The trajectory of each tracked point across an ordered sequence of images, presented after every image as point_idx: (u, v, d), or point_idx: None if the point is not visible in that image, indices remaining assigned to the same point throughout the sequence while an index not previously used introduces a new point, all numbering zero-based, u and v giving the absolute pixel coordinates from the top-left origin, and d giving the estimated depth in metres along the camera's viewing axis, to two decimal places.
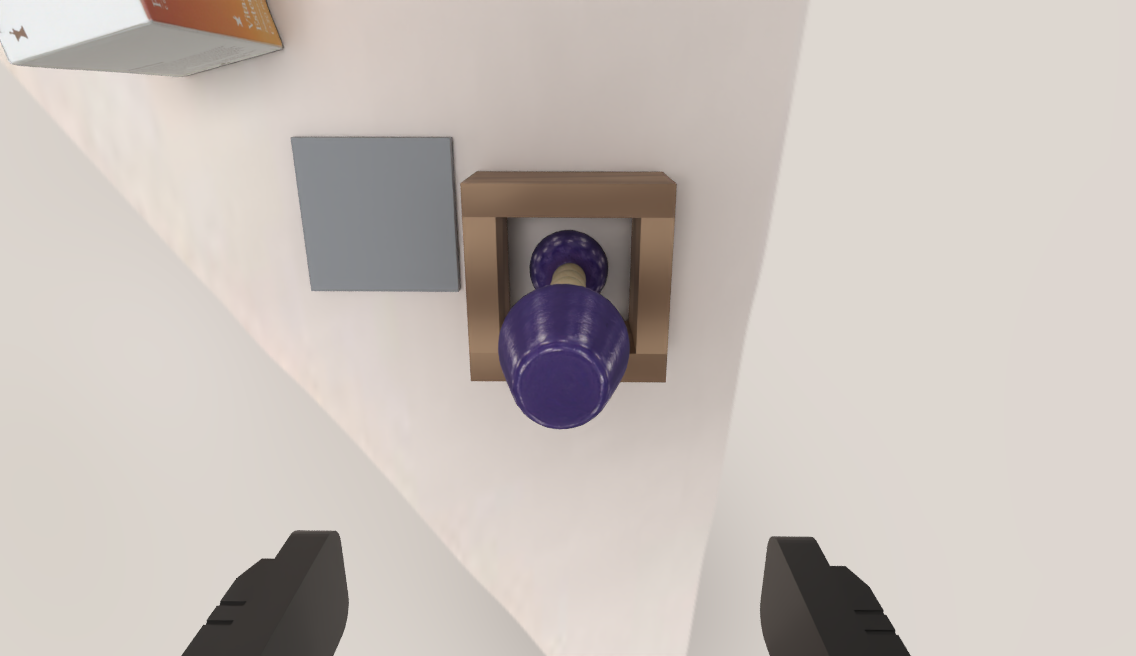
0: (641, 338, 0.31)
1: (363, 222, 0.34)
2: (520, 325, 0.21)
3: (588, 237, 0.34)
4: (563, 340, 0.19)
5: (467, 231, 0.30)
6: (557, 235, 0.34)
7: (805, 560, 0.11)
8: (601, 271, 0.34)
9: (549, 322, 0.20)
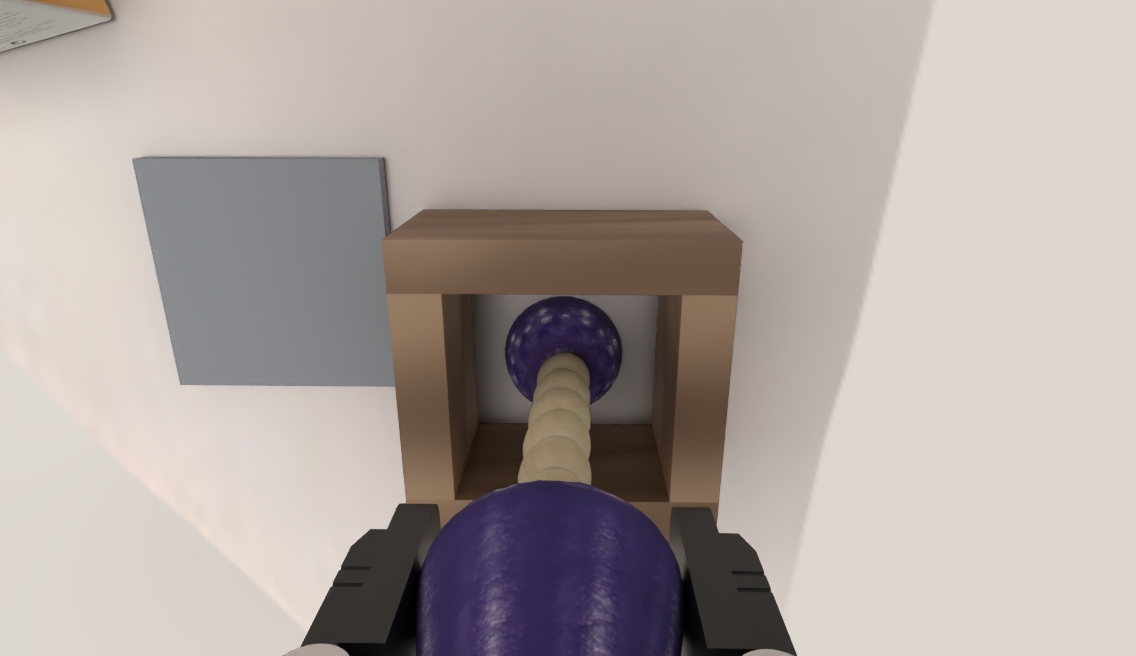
0: (678, 479, 0.20)
1: (252, 285, 0.22)
2: (449, 608, 0.09)
3: (593, 308, 0.23)
4: None
5: (396, 316, 0.18)
6: (545, 306, 0.23)
7: (696, 526, 0.12)
8: (612, 360, 0.22)
9: (513, 629, 0.08)
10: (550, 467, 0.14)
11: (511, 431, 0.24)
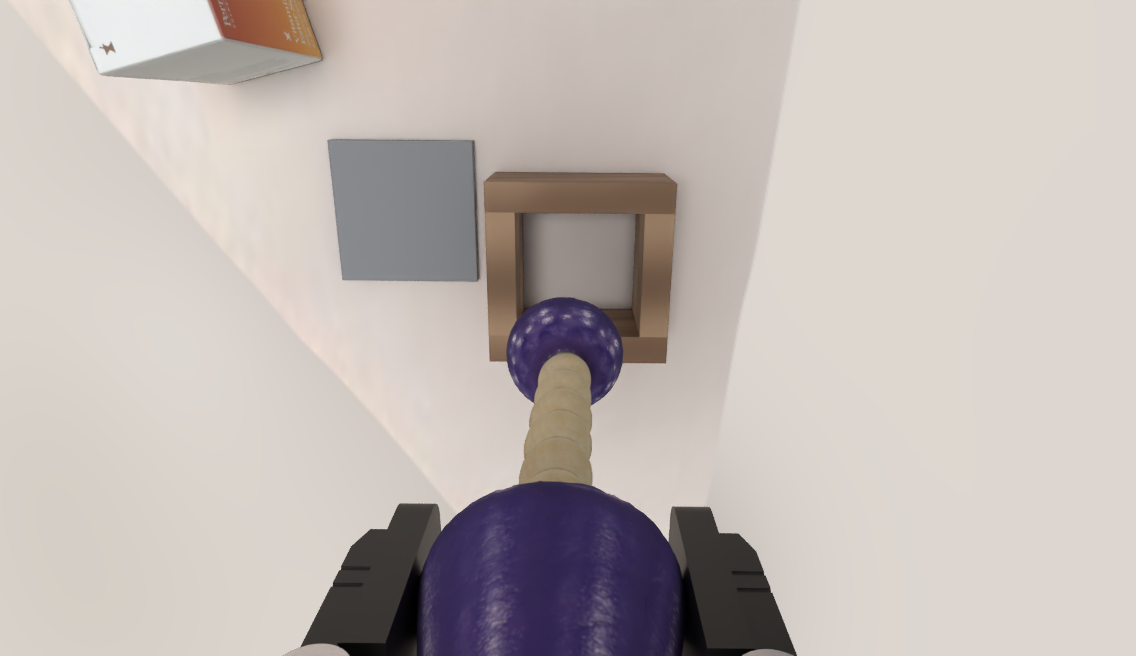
0: (644, 322, 0.35)
1: (391, 217, 0.37)
2: (451, 610, 0.09)
3: (594, 309, 0.23)
4: None
5: (489, 225, 0.33)
6: (546, 306, 0.23)
7: (696, 527, 0.12)
8: (613, 361, 0.22)
9: (514, 630, 0.08)
10: (551, 468, 0.14)
11: None
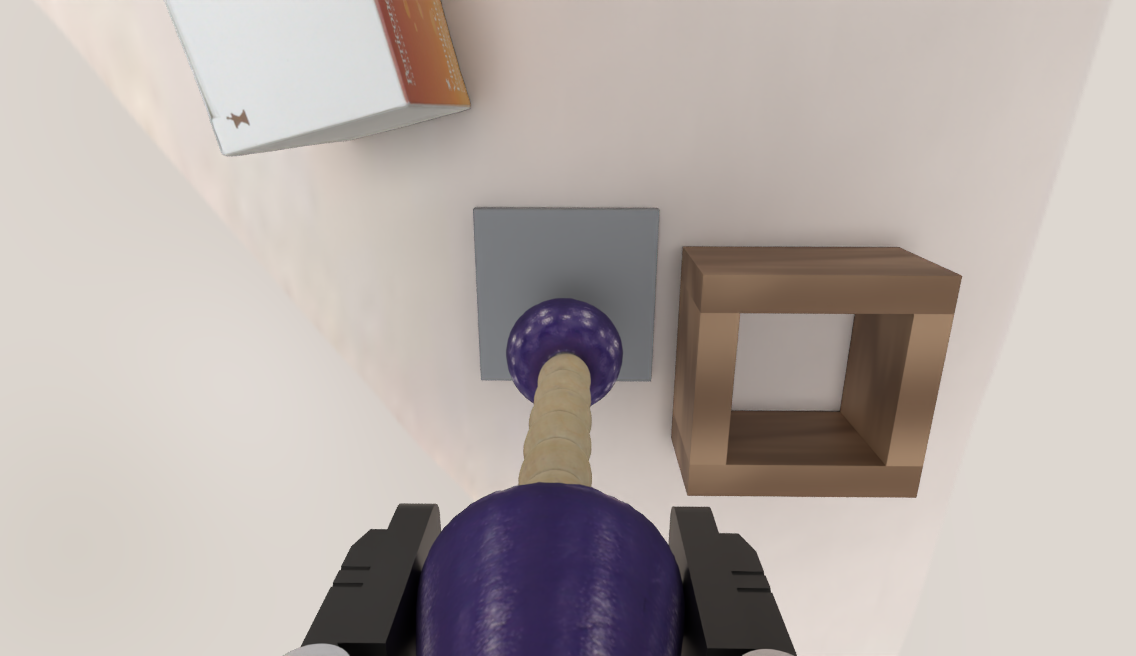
0: (894, 448, 0.27)
1: None
2: (450, 611, 0.09)
3: (594, 309, 0.23)
4: None
5: (704, 329, 0.25)
6: (546, 307, 0.23)
7: (696, 526, 0.12)
8: (613, 361, 0.22)
9: (514, 630, 0.08)
10: (550, 469, 0.14)
11: (734, 416, 0.31)
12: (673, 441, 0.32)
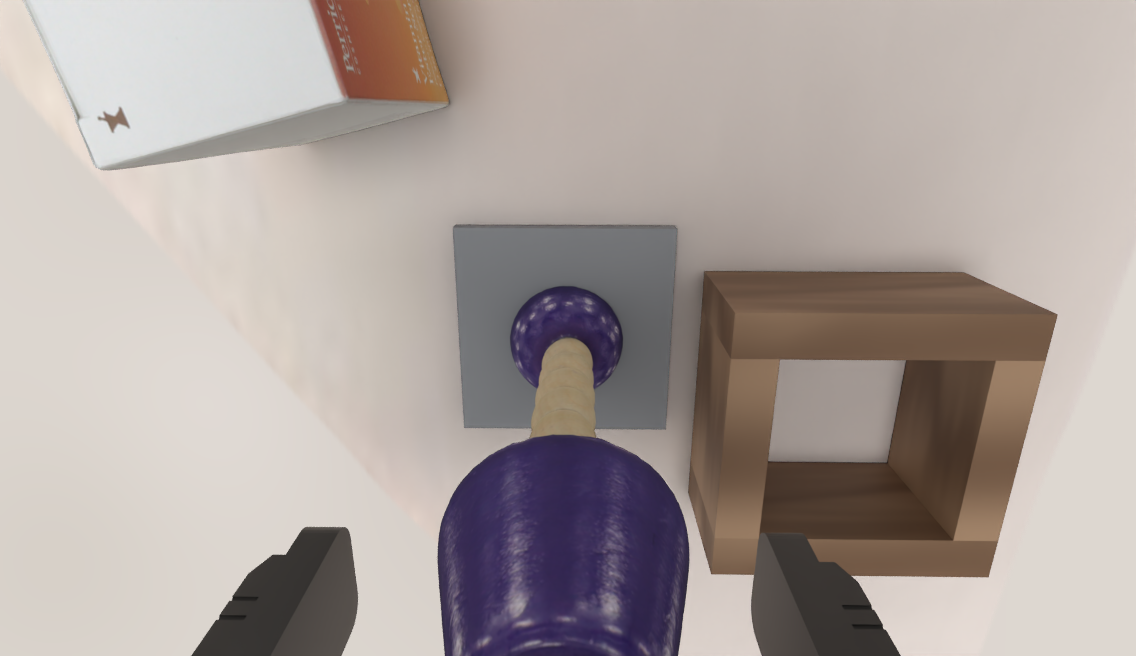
0: (964, 520, 0.22)
1: None
2: (474, 544, 0.10)
3: (595, 297, 0.24)
4: (566, 618, 0.08)
5: (736, 378, 0.20)
6: (549, 294, 0.23)
7: (794, 556, 0.11)
8: (614, 347, 0.23)
9: (535, 555, 0.09)
10: None
11: None
12: (691, 498, 0.27)
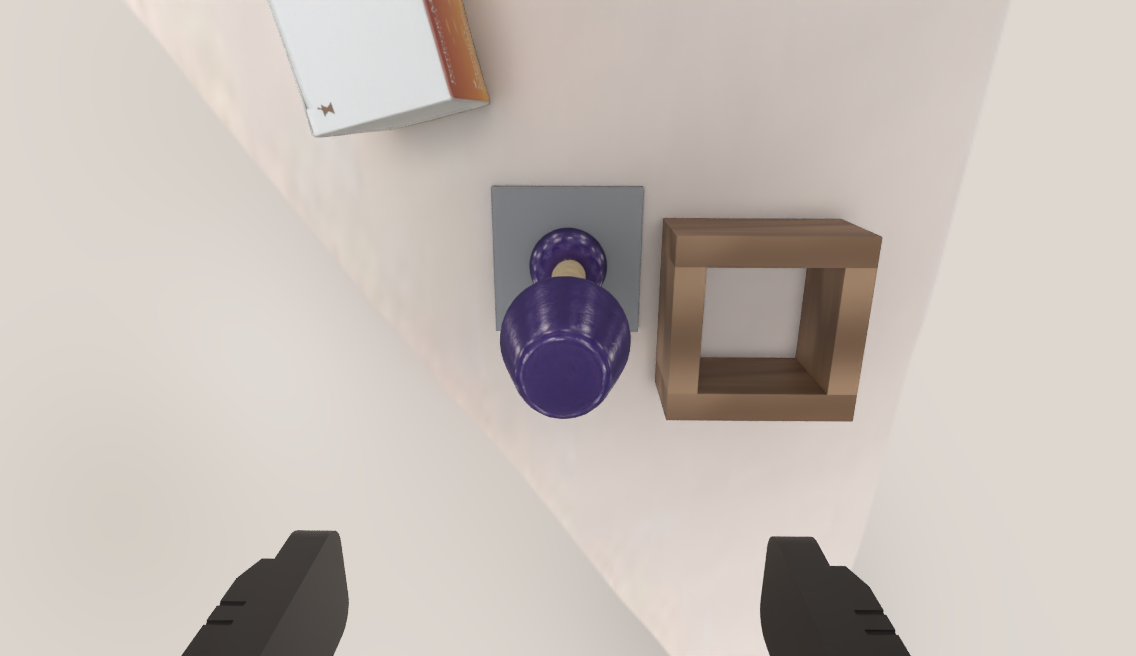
0: (833, 380, 0.33)
1: None
2: (522, 316, 0.21)
3: (587, 234, 0.35)
4: (566, 329, 0.19)
5: (678, 280, 0.31)
6: (557, 232, 0.34)
7: (805, 560, 0.11)
8: (600, 268, 0.34)
9: (552, 313, 0.20)
10: None
11: (707, 361, 0.37)
12: (656, 383, 0.38)
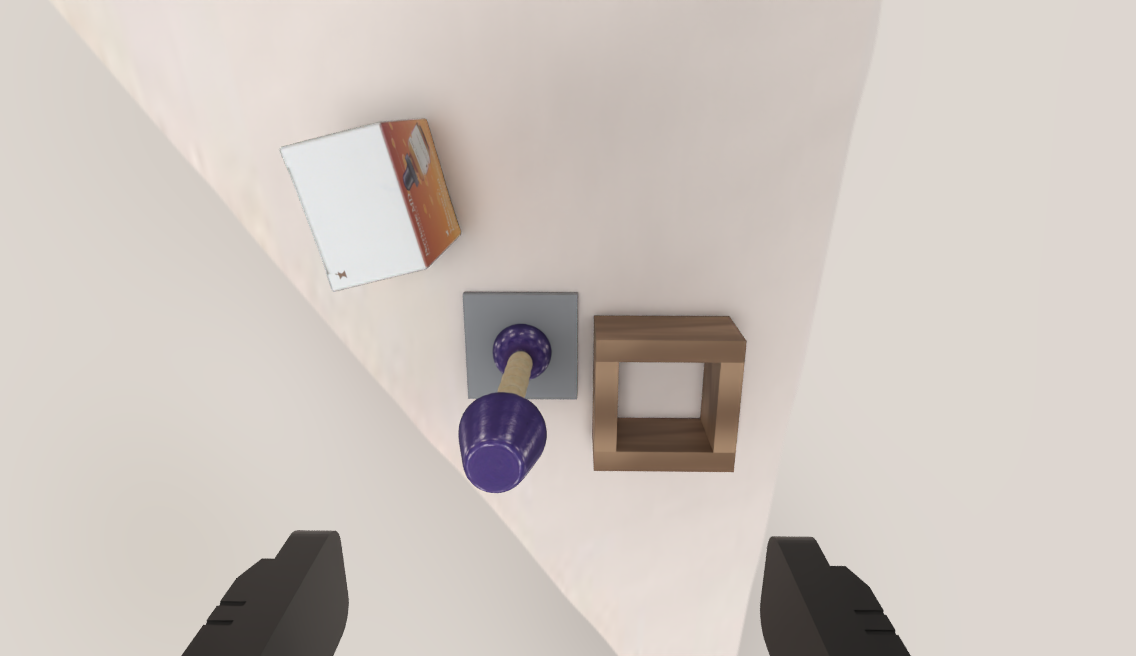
0: (717, 442, 0.44)
1: None
2: (470, 424, 0.32)
3: (536, 329, 0.46)
4: (495, 438, 0.31)
5: (598, 371, 0.42)
6: (512, 328, 0.46)
7: (805, 560, 0.11)
8: (545, 355, 0.45)
9: (488, 425, 0.31)
10: None
11: (630, 421, 0.48)
12: (592, 437, 0.49)
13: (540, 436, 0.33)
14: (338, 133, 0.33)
